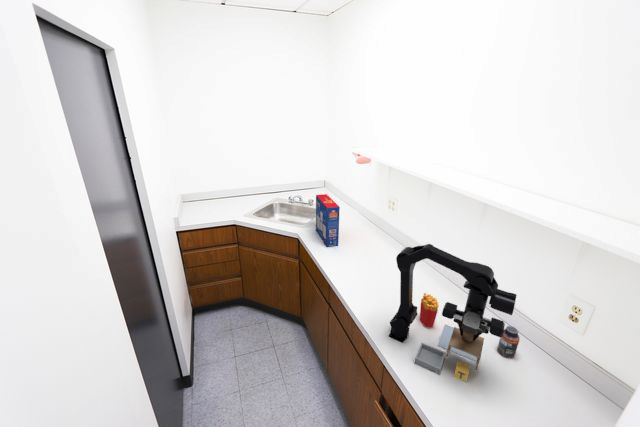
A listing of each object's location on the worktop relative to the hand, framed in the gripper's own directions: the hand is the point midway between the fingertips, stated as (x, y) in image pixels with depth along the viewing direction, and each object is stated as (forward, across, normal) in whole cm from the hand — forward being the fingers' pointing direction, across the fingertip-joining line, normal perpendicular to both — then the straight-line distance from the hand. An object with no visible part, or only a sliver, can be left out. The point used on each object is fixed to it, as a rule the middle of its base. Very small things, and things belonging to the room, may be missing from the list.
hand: (467, 337), depth 104 cm
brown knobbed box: (+7, 0, -1) cm, 7 cm away
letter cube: (+13, +1, -5) cm, 14 cm away
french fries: (+13, -16, +15) cm, 26 cm away
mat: (+13, -2, +12) cm, 18 cm away
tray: (+13, -10, -4) cm, 17 cm away
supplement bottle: (+13, +14, +16) cm, 25 cm away
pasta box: (+14, -99, +63) cm, 118 cm away
